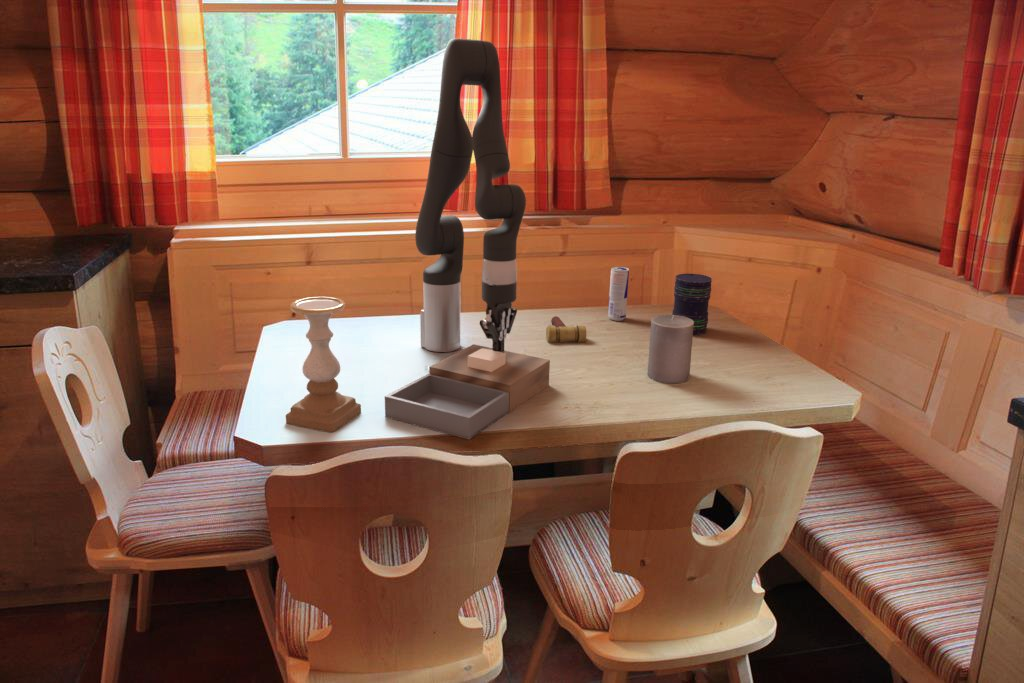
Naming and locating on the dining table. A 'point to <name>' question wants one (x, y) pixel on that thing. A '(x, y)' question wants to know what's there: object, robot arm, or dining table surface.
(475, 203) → the robot arm
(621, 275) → the beverage can
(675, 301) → the storage jar
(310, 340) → the candle holder
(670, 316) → the pillar candle
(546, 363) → the brown wooden box
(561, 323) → the gavel
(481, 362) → the tile
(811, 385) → the dining table surface
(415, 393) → the box
